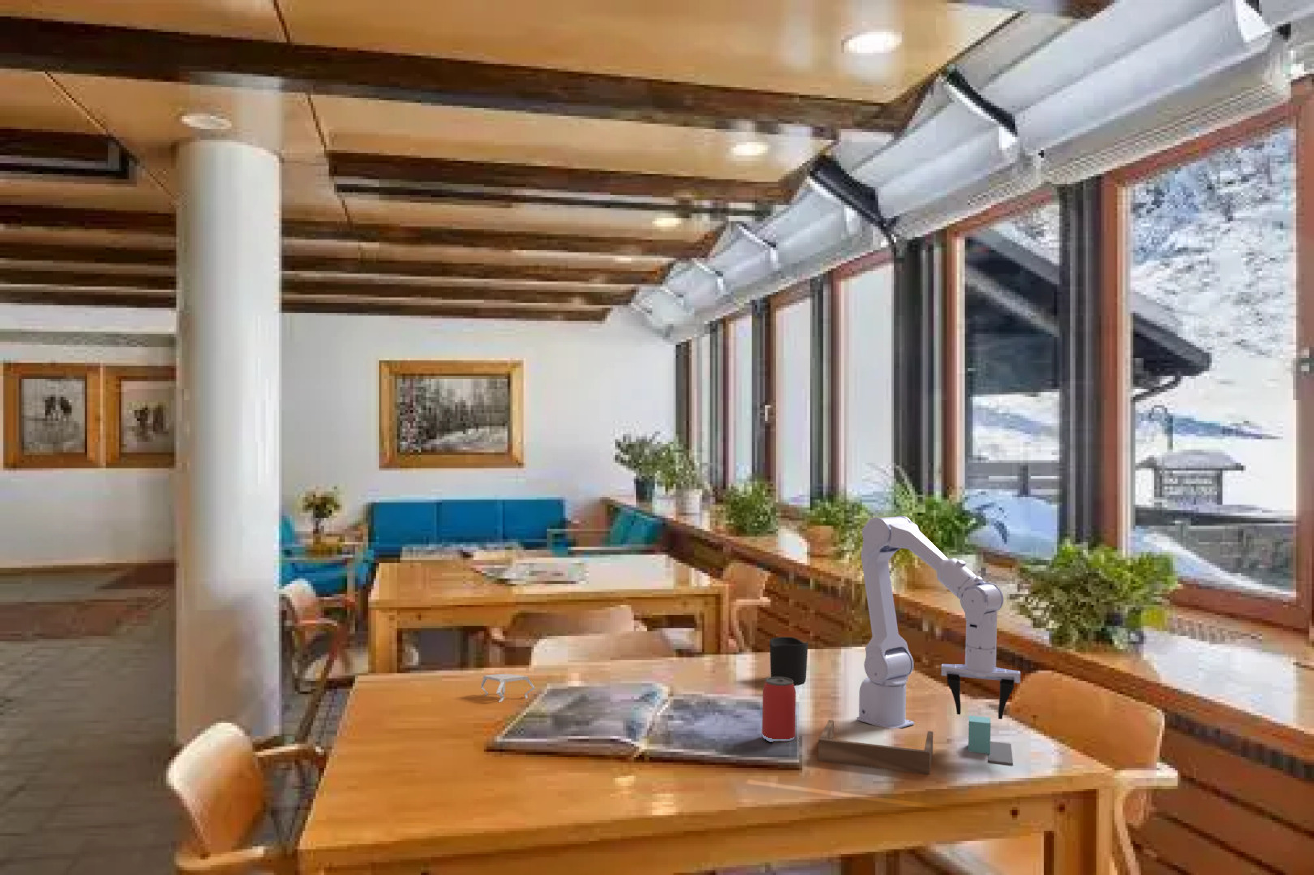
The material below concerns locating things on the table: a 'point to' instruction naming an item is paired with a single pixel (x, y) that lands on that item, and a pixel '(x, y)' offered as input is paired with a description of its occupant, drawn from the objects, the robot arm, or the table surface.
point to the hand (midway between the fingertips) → (979, 715)
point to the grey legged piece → (502, 679)
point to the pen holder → (788, 659)
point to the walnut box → (874, 753)
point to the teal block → (979, 734)
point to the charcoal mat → (1000, 753)
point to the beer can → (779, 708)
